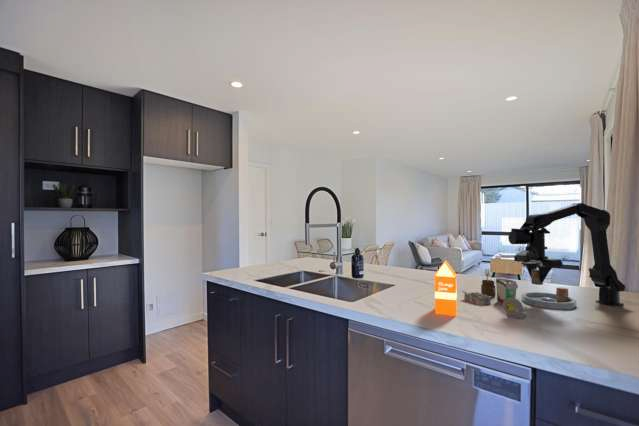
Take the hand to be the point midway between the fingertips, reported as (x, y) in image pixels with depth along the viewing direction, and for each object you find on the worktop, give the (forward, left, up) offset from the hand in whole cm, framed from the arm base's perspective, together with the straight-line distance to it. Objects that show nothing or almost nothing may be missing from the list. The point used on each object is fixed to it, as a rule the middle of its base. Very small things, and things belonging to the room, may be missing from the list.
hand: (537, 280), depth 132 cm
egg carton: (+22, -8, -10) cm, 26 cm away
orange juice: (+44, +2, -10) cm, 45 cm away
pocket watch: (+23, +13, -10) cm, 28 cm away
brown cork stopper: (-10, +2, -9) cm, 13 cm away
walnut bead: (0, 0, -1) cm, 1 cm away
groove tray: (-5, 0, -10) cm, 11 cm away
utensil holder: (+11, -16, -10) cm, 22 cm away
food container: (+13, -1, -10) cm, 16 cm away
